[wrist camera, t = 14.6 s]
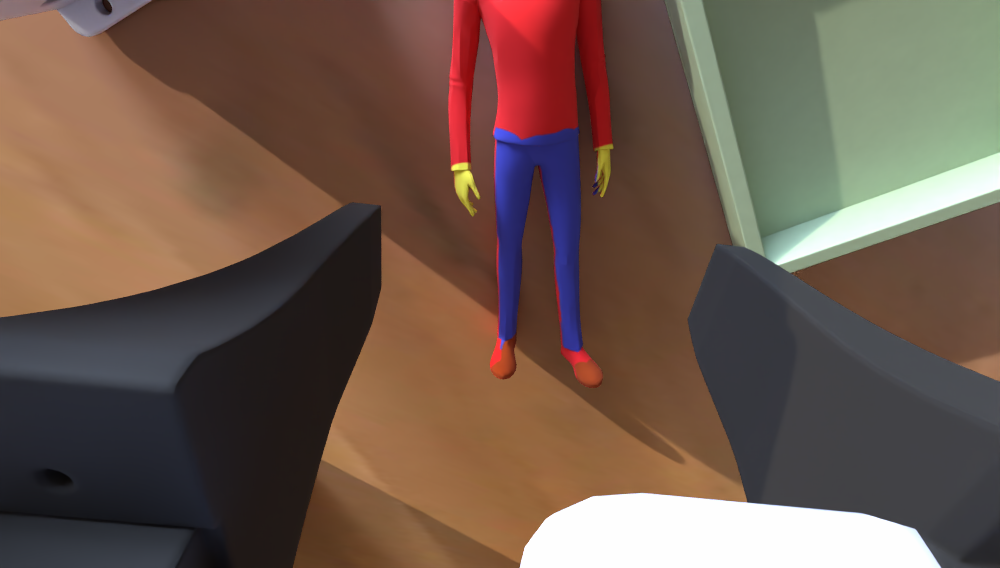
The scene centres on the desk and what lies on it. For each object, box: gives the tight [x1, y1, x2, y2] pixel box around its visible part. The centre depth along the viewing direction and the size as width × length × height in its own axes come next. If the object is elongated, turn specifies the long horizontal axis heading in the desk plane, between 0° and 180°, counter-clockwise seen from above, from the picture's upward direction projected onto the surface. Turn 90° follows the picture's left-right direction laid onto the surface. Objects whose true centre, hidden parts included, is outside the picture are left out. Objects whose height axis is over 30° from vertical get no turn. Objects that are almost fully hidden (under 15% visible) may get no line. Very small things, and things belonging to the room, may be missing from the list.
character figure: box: [448, 0, 613, 388], centre depth 19 cm, size 6×4×20 cm
